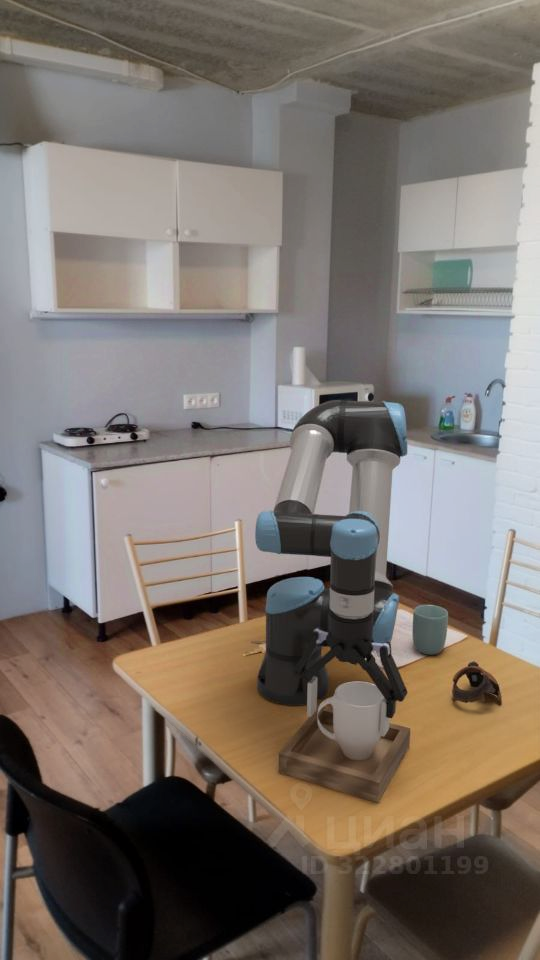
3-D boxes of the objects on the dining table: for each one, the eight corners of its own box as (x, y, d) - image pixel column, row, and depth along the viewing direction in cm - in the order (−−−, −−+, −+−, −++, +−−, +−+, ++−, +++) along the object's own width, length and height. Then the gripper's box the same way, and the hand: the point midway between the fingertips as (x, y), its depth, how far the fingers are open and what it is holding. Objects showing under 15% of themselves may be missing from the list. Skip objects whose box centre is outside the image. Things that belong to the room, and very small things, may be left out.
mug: (380, 739, 139) (384, 681, 136) (383, 770, 130) (387, 708, 127) (316, 736, 140) (318, 677, 137) (315, 766, 131) (317, 704, 128)
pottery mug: (510, 714, 151) (496, 686, 148) (465, 729, 153) (450, 702, 150) (496, 672, 162) (483, 645, 158) (454, 687, 164) (440, 660, 160)
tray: (278, 772, 131) (278, 753, 130) (318, 722, 147) (319, 704, 146) (378, 802, 123) (379, 782, 122) (409, 746, 139) (410, 728, 138)
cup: (420, 640, 182) (422, 601, 180) (450, 649, 178) (453, 609, 176) (405, 652, 176) (407, 612, 174) (437, 661, 172) (439, 620, 169)
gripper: (275, 605, 131) (274, 715, 136) (417, 634, 120) (410, 752, 125) (293, 590, 137) (291, 695, 142) (429, 616, 126) (422, 729, 132)
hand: (347, 722), depth 134 cm, fingers open, 13 cm apart
